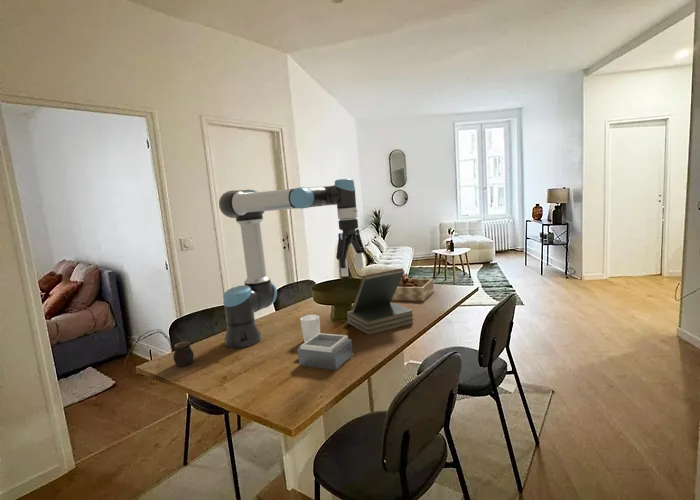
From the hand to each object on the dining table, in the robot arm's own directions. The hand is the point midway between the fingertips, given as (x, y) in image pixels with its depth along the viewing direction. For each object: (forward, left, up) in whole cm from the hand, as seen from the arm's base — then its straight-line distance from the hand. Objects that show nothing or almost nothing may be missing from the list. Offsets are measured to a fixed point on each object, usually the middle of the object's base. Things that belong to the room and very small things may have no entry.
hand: (352, 272), depth 156 cm
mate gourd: (-56, -38, -28) cm, 73 cm away
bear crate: (0, +70, -28) cm, 75 cm away
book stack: (+1, +21, -28) cm, 35 cm away
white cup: (-19, -5, -28) cm, 34 cm away
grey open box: (-5, -21, -28) cm, 35 cm away
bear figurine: (0, +70, -28) cm, 75 cm away
